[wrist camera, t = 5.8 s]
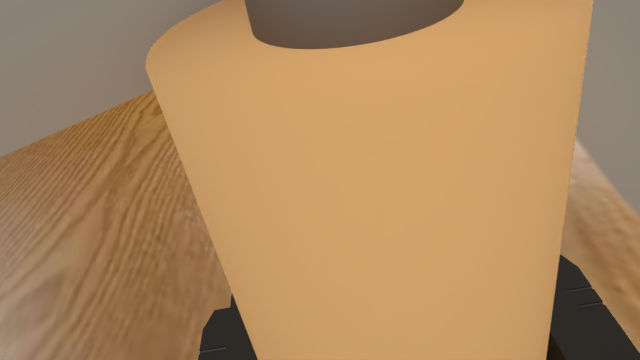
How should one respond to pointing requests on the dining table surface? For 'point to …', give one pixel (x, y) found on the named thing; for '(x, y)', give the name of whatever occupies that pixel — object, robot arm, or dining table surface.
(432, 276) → the tall tan cylinder
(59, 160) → the dining table surface
